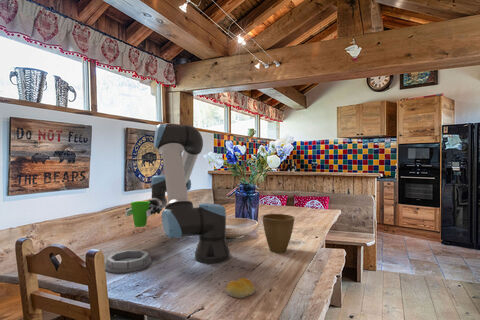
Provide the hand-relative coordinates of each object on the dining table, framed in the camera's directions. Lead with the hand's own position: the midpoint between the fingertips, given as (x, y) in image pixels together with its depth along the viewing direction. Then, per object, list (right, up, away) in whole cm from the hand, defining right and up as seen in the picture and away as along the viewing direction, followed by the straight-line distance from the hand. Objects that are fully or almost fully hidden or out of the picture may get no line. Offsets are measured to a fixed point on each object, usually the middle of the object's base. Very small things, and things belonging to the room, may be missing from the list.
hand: (136, 213), depth 131 cm
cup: (0, -7, +5) cm, 8 cm away
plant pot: (+65, -18, +3) cm, 68 cm away
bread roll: (+47, -18, -39) cm, 64 cm away
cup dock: (+2, -18, -15) cm, 23 cm away
